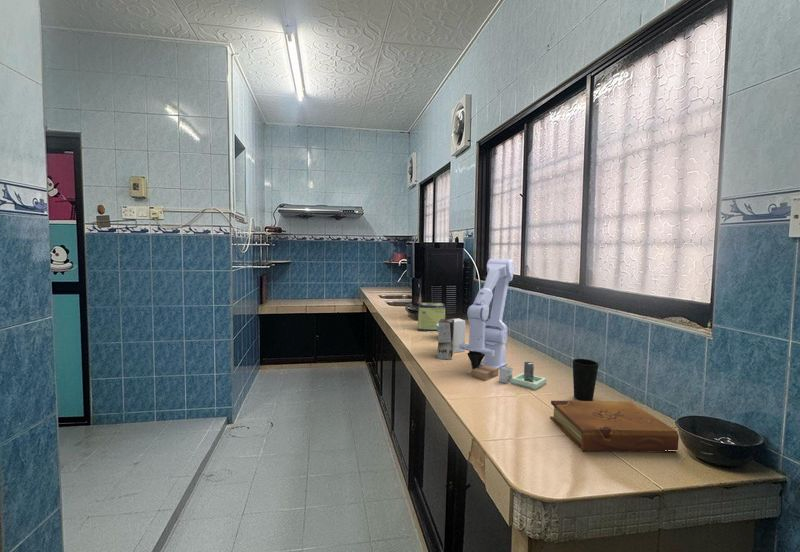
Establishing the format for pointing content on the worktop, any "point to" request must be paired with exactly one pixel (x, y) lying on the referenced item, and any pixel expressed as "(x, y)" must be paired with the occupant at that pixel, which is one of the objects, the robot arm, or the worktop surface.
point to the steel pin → (528, 371)
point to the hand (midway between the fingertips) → (475, 370)
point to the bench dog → (505, 374)
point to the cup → (584, 378)
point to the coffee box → (445, 339)
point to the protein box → (430, 315)
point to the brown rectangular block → (485, 372)
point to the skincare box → (458, 334)
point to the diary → (612, 426)
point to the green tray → (535, 385)
